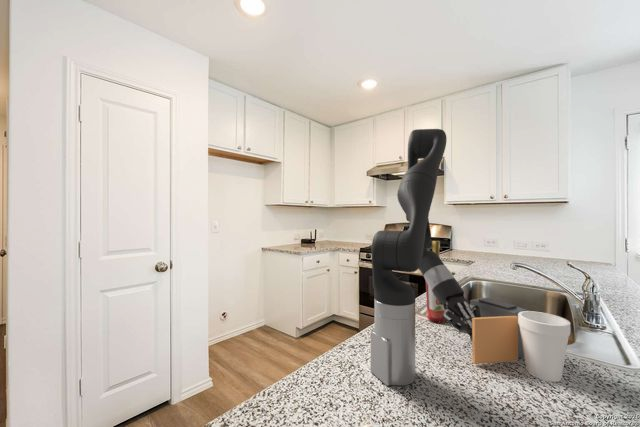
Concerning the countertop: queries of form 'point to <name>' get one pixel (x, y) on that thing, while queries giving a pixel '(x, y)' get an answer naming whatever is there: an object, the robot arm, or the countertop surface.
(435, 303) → the liquor
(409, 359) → the robot arm
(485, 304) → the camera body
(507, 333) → the side door
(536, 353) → the foam cup
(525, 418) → the countertop surface
